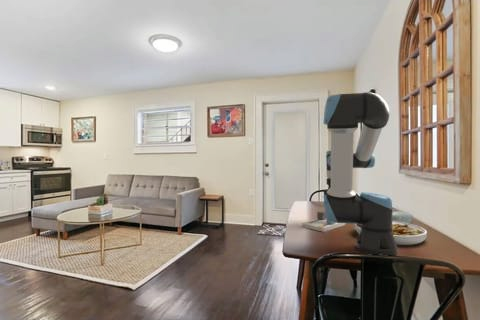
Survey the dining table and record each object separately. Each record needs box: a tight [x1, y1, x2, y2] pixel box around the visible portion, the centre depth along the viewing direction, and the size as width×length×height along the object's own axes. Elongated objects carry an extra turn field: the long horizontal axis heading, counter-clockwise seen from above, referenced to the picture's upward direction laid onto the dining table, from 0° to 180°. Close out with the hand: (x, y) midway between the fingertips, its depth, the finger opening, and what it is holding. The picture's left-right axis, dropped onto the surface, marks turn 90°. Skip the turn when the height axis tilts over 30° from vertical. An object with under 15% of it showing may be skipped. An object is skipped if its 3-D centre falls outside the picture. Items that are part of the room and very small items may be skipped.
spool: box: [392, 210, 414, 224], centre depth 143 cm, size 14×10×10 cm
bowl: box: [354, 221, 428, 246], centre depth 125 cm, size 30×30×8 cm
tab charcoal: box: [316, 210, 326, 220], centre depth 152 cm, size 4×4×4 cm
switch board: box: [301, 218, 347, 233], centre depth 146 cm, size 22×14×2 cm, turn 129°
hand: (334, 219), depth 144 cm, fingers closed
